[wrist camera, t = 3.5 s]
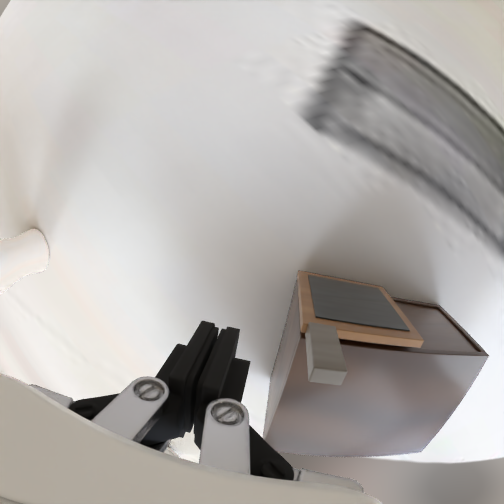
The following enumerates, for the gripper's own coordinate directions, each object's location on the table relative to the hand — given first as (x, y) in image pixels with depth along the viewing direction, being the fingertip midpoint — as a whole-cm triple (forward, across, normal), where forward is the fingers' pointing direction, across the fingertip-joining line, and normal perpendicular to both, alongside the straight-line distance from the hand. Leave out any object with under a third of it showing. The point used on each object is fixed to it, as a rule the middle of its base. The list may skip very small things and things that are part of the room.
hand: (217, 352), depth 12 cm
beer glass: (+14, +29, +5) cm, 33 cm away
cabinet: (+14, -12, +7) cm, 19 cm away
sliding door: (+13, -8, 0) cm, 16 cm away
